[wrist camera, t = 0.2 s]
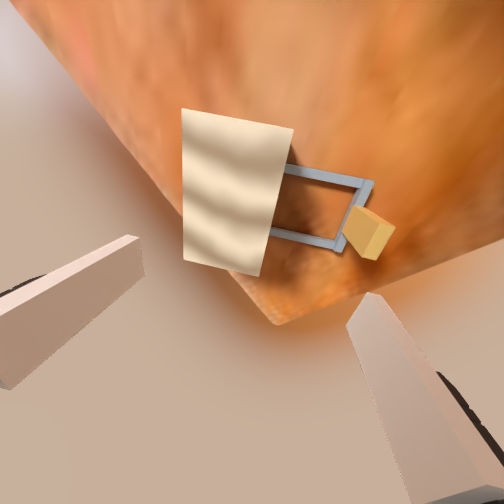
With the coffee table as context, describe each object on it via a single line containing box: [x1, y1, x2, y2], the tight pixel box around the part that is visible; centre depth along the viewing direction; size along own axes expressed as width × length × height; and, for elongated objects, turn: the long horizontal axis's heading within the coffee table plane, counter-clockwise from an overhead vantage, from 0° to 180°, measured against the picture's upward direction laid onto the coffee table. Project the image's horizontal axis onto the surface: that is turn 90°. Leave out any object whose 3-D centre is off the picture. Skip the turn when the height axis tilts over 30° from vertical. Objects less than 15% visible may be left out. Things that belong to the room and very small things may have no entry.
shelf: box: [182, 108, 294, 277], centre depth 29 cm, size 19×12×14 cm, turn 170°
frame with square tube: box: [269, 163, 396, 260], centre depth 30 cm, size 14×28×12 cm, turn 80°
